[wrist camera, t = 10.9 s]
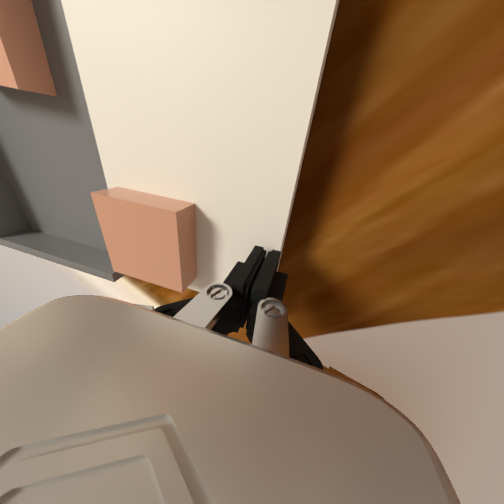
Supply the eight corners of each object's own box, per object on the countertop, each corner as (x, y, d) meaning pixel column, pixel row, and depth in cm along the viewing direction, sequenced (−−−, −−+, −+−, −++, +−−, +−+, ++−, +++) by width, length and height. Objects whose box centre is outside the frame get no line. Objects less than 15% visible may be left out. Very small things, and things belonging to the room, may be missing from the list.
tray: (-92, -73, 12) (-249, -158, 9) (86, -94, 10) (-41, -225, 6) (45, 229, 23) (-3, 243, 19) (148, 258, 20) (114, 281, 17)
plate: (88, -83, 10) (24, -147, 8) (365, -111, 7) (384, -217, 5) (148, 256, 20) (127, 269, 18) (272, 292, 17) (266, 312, 15)
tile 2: (118, 186, 14) (90, 192, 12) (194, 203, 13) (175, 212, 11) (134, 258, 17) (113, 271, 15) (197, 277, 16) (182, 292, 14)
